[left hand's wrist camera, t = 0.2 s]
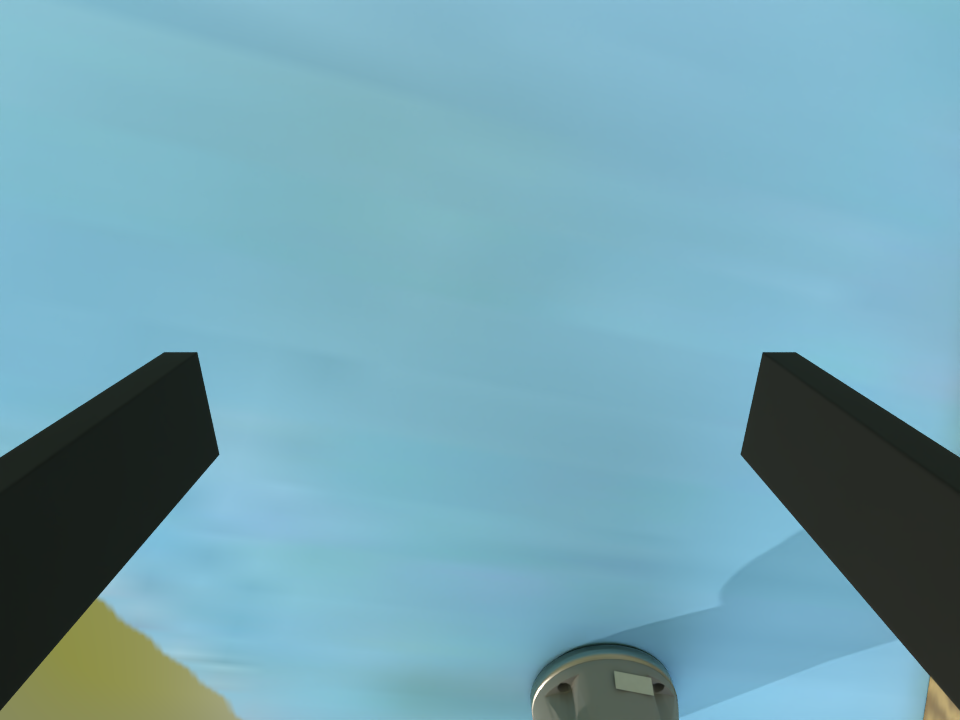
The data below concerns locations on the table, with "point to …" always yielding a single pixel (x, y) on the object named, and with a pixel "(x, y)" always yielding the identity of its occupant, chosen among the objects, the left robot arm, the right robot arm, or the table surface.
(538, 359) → the table surface
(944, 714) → the bar
